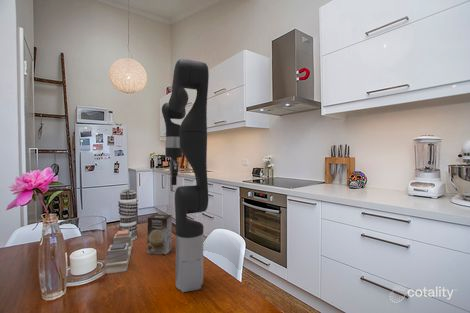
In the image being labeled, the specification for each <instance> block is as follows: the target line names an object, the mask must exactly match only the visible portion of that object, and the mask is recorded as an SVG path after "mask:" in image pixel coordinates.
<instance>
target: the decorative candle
mask: <svg viewBox="0 0 470 313" xmlns="http://www.w3.org/2000/svg"><path fill="white" fill-rule="evenodd" d="M137 193H138V192H137V191H136V190H135V189H133V188H132V189H131V188H129V189H128V188H127V189H123V190H121V192H119V196H120V197H119V200H118V205H117V206H118V207H119V208H118V214H119V225H118V228H119V229H118V231H123V230H129V232H132V241H134V240H136V239H137V238H138V230H137V228H138V223H137V222H138V221H137V215H138V211H137V209H138V206H139V204H138V203H137V202H138V199H137ZM135 238H136V239H135Z"/></svg>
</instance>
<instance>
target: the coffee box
mask: <svg viewBox="0 0 470 313" xmlns="http://www.w3.org/2000/svg"><path fill="white" fill-rule="evenodd" d="M172 217H173V215H172V214H162V213H160V214H158V213H153V214H151V215H149V216H148V217H147V241H146V242H147V244H146V245H147V248H146V249H147V250H146V251H147V252H146V254H148V255H161V254H165V256H166V254H167V253H168V254H169V253H170V252H171V251H172V235H173V234H172V228H173V227H172V225H173V223H172V222H173V221H172V220H173V218H172ZM168 254H167V255H168Z"/></svg>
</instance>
